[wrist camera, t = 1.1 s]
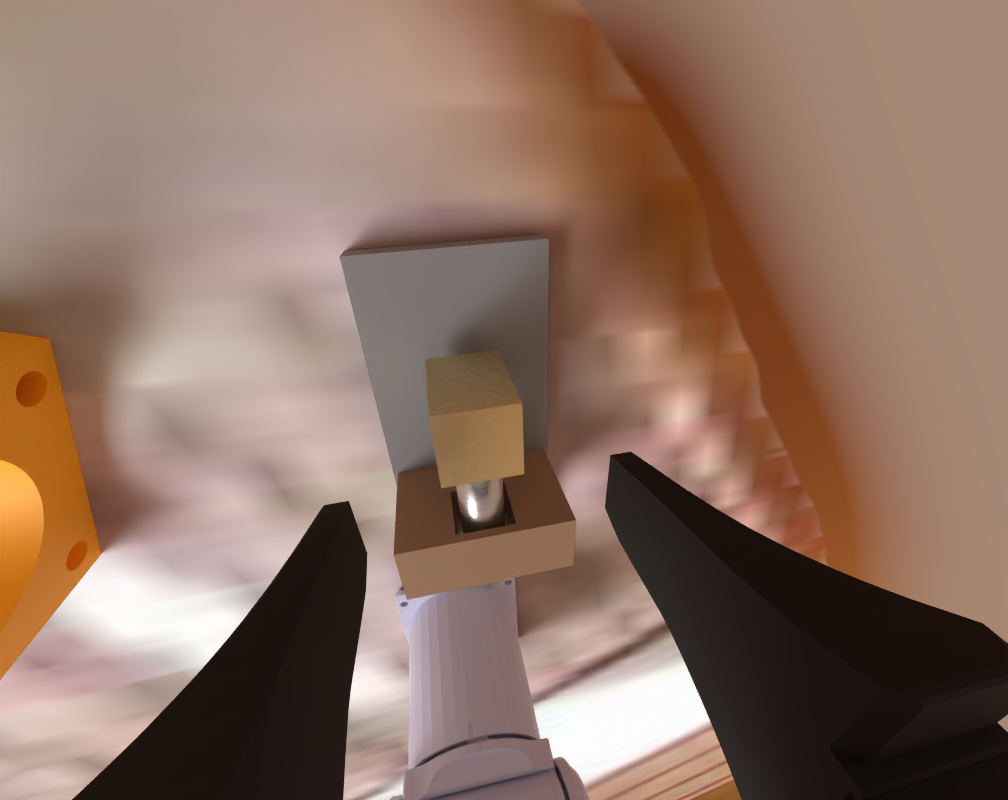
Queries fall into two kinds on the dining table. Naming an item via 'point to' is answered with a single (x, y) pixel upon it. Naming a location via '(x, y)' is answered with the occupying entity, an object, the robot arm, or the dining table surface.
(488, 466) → the pin
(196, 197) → the dining table surface
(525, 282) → the eye block
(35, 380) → the pipe clamp
